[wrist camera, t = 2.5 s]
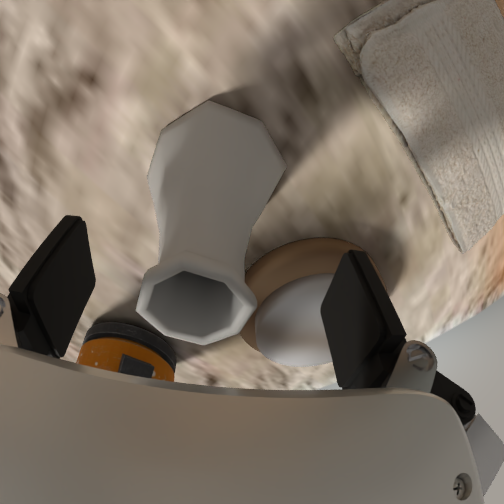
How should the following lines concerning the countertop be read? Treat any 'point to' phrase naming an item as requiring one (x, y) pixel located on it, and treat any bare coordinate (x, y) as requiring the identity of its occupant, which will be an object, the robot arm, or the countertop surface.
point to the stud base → (293, 268)
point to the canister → (127, 351)
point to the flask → (206, 221)
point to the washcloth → (440, 99)
